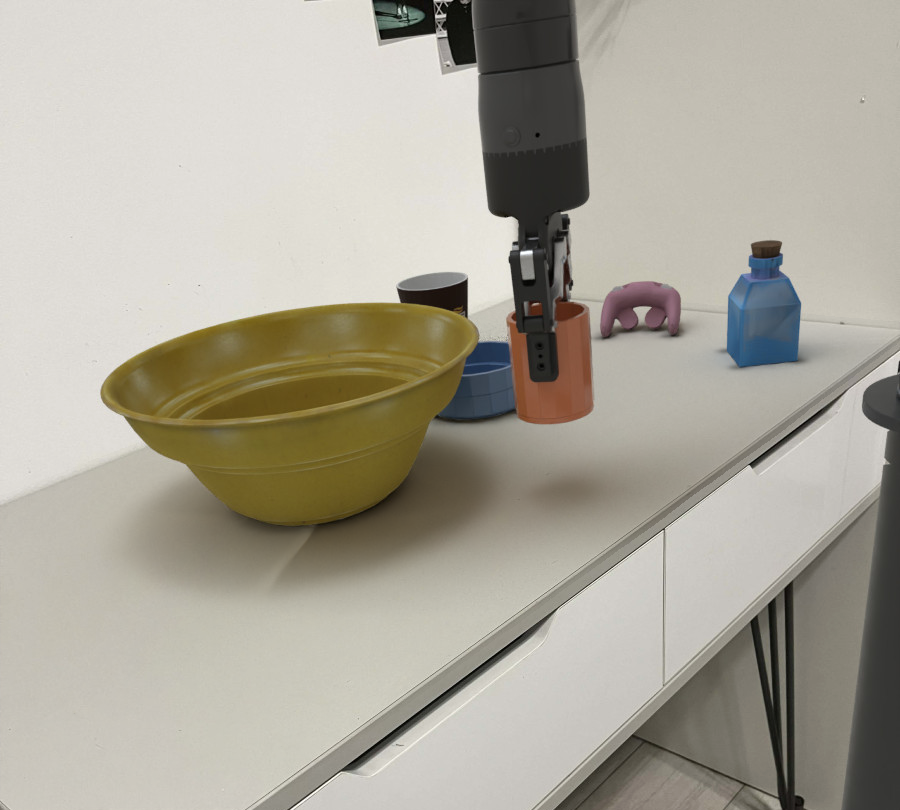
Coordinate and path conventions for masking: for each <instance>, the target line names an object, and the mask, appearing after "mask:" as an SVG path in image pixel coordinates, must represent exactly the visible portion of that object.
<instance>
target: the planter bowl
mask: <svg viewBox="0 0 900 810" xmlns="http://www.w3.org/2000/svg"><path fill="white" fill-rule="evenodd" d="M479 341H480V331H479V329H478V327H477V326H476V324H475V323H474V322H473V321H472V320H470V319H469V318H468V319H467V318H466V317H464V316H462V315H460V314H458V313H455V312H452V311H449V310H445V309H441V308H437V307H432V306H425V305H418V304H407V303H400V302H348V303H334V304H321V305H315V306H313V305H312V306H306V307H305V306H304V307H298V308H291V309H284V310H278V311H273V312H268V313H267V312H266V313H262V314H257V315H253V316H248V317H242V318H239V319H234V320H230V321H226V322H222V323H218V324H215V325H211V326H207V327H203V328H201V329H197V330H194V331H191V332H187V333H185V334H182V335H179V336H176V337H173V338H170V339H168V340H165V341H163V342H161V343H158V344H156V345H154V346H151V347H149V348H147V349H145V350H143V351H141V352H139V353H136V354H135V355H133V356H131V357H130V358H128V359H127V360H126V361H124V362H123V363H122V364H120V365H118V366H117V367H116V368H115V369H114V370H113V371H112V372H110V373H109V375H108V376H106V378H105V380H104V381H103V383H102V384H101V388H100V389H99V392H100V393H99V394H100V399H101V401H102V403H103V404H104V406H105V407H107V409H109V410H110V411H112V412H114V413H116V414H117V415H119V416H122V417H123V418H124V419H125V421H126V422H127V424H128V425H129V426H130V428H131V429H132V430H133V431H134V432H135V434H136V435H137V436H138V437H139V438H140V439H141V440H142V441H143V442H144V443H145V444H146V445H147V446H148V447H149V448H150V449H151V450H153V451H154V452H156V453H157V454H159V455H161V456H163V457H164V458H167V459H170V460H172V461H175V462H179V463H181V464H183V465H186V467H187V468H188V470H190V472H191V473H192V474H193V475H194V476H195V477H196V478H197V480H199V482H200V483H201V484H202V485H203V487H205V488H206V489H207V490H208V491H209V492H210V493H211V494H212V495H214V497H216V498H217V500H219V501H220V502H222V503H223V504H224V505H225V506H226V507H227V508H228V509H230V510H232V511H234V512H235V513H236V514H240V515H242V516H244V517H247V518H251V519H254V520H256V521H258V522H259V521H260V522H261V523H266V524H270V525H276V526H277V525H278V526H290V527H291V526H292V527H293V526H294V527H297V526H310V525H318V524H326V523H330V522H335V521H338V520H341V519H346V518H349V517H351V516H354V515H357V514H360V513H362V512H364V511H366V510H368V509H371V508H372V507H374V506H376V505H377V504H379V503H380V502H382V501H383V500H384V499H386V498H387V497H388V496H389V495H390V494H391V493H392V492H394V491H395V490H396V489H397V488H399V487H400V485H401V484H403V482H404V481H405V480H406V478H407V477H408V475H409V473H410V471H411V469H412V467H413V465H414V464H415V461H416V460H417V457H418V455H419V453H420V450H421V449H422V446H423V444H424V441H425V438H426V435H427V432H428V429H429V426H430V424H431V421H432V420H433V419H434V418H435V417H436V416H438V415H437V414H439V413H440V412H441V411H442V410H443V409H444V408H445V407H446V406H447V405H448V404H449V403H450V401H451V400H452V398H453V397H454V395H455V393H456V391H457V388H458V386H459V383H460V380H461V377H462V374H463V370H464V366H465V362H466V358H467V357H468V356H469V355H470V354H471V353H472V352H473V350H474V349H475V347H476V346H477V344H478V342H479Z"/></svg>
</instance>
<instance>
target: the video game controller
mask: <svg viewBox="0 0 900 810" xmlns="http://www.w3.org/2000/svg"><path fill="white" fill-rule="evenodd" d="M639 307H640V308H641V307H647V308H650V309H648V310H647V312H646V313H645V316H644V323H645V325H646V326H647V327H648V328H649V329H650V330H658V329H660V328H661V327H662V326H663V325H664V323H665V321H667V328H668V332H669V334H670V335H671V336H675V334H677V332H678V330H679V327H680V322H681V316H682V315H681V314H682V298H681V295H680V293H679V291H678V290H677V289H676V288H674V287H673V286H671V285H669V284H668V283H662V282H657V281H653V280H651V281H650V280H646V281H632V282H629V283H626V284H623V285H618V286H614V287H613V288H612V289H611V290H610V291H609V292H608V293H607V295H606V296H605V298H604V301H603V304H602V307H601V312H600V323H599V329H600V331H599V332H600V334H601V335H600V336H602V337H603V338H607V337H609V335H610V334H611V332H612V331H613V327H614V325H615V321H616V320H617V321H618V322H619V324H620V325H621V328H623V329H624V330H626V331H631V330H634V329H636V328H637V326H638V325H639V316H638V314H637V312H636V311H635V310H634V309H635V308H639Z"/></svg>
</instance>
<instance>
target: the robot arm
mask: <svg viewBox="0 0 900 810" xmlns="http://www.w3.org/2000/svg"><path fill="white" fill-rule="evenodd" d="M576 4H577V3H576V0H471V18H472V29H473V39H474V48H475V58H476V59H475V60H476V69H477V70H476V71H477V83H478V88H477V89H478V91H477V93H478V95H477V112H478V123H479V124H478V125H479V134H480V135H479V136H480V143H481V154H482V163H483V172H484V173H483V174H484V182H485V192H486V202H487V203H486V204H487V209H488V212H489V213H490V214H491V215H493V216H495V217H498V218H504V219H506V218H513V219H515V220H517V224H518V227H517V240H514V241H512V243H511V250H510V251H509V255H508V259H507V260H508V264H509V267H510V276H511V285H512V293H513V302H514V311H515V312H516V328H517V329H518V333H523V335H526V342H527V353H528V364H529V375H530V379H531V380H532V381H533V382H553V381H555V380H556V379H557V378H558V375H559V364H558V350H557V337H556V328H558V322H557V303H558V302H560V301H564V302H571V299H572V293H571V291H573V287H574V279H573V264H572V253H571V248H572V234H571V229H570V225H571V218H570V217H569V213H564V212H568V211H572V210H575V209H578V208H580V207H582V206H583V205H585V204H586V203H587V202H588V201H589V199H590V193H591V192H590V175H589V155H588V138H587V137H588V136H587V121H586V120H587V118H586V99H585V90H584V85H583V79H582V75H581V74H582V73H581V68H580V67H581V66H580V60H578V59H579V58H580V56H579V55H580V54H579V36H578V17H577V5H576ZM540 303H541V304H542V312H543V315H531V306H532V305H534V304H540ZM898 374H900V360H898V364H897V373H896V375H898ZM897 398H898V399H899V401H900V376H899V384H898V387H897Z"/></svg>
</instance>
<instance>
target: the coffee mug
mask: <svg viewBox="0 0 900 810" xmlns="http://www.w3.org/2000/svg"><path fill="white" fill-rule="evenodd" d="M395 287H396V291H397V294H398V299H399V303H407V304H418V305H425V306H432V307H437V308H441V309H445V310H449V311H452V312H455V313H458V314H460V315H462V316H464V317H466V318H467V319H469V276H468V274H467V273H465V272H459V271H439V272H431V273H430V272H429V273H423V274H419V275H414V276H411V277H408V278H405V279H402V280H400V281H399V282H397V283H396V286H395Z"/></svg>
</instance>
